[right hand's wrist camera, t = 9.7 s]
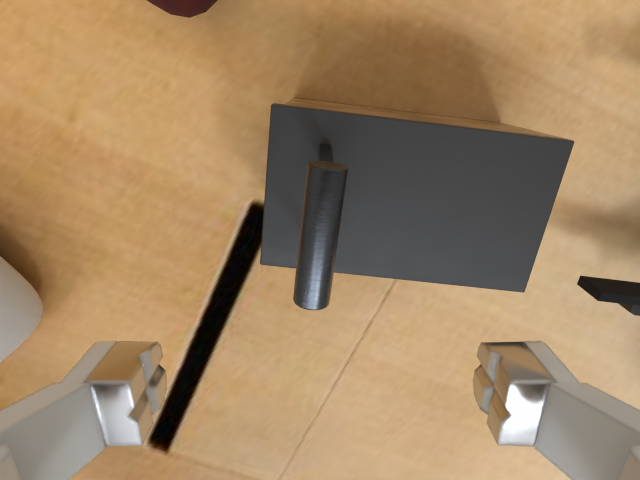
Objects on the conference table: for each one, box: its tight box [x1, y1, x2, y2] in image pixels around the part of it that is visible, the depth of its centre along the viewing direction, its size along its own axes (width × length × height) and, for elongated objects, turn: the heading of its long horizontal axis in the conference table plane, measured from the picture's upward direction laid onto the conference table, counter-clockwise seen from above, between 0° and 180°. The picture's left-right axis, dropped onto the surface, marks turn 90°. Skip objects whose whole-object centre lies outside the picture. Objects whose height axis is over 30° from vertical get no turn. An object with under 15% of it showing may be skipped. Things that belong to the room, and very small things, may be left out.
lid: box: [260, 103, 574, 310], centre depth 23 cm, size 18×10×9 cm, turn 83°
